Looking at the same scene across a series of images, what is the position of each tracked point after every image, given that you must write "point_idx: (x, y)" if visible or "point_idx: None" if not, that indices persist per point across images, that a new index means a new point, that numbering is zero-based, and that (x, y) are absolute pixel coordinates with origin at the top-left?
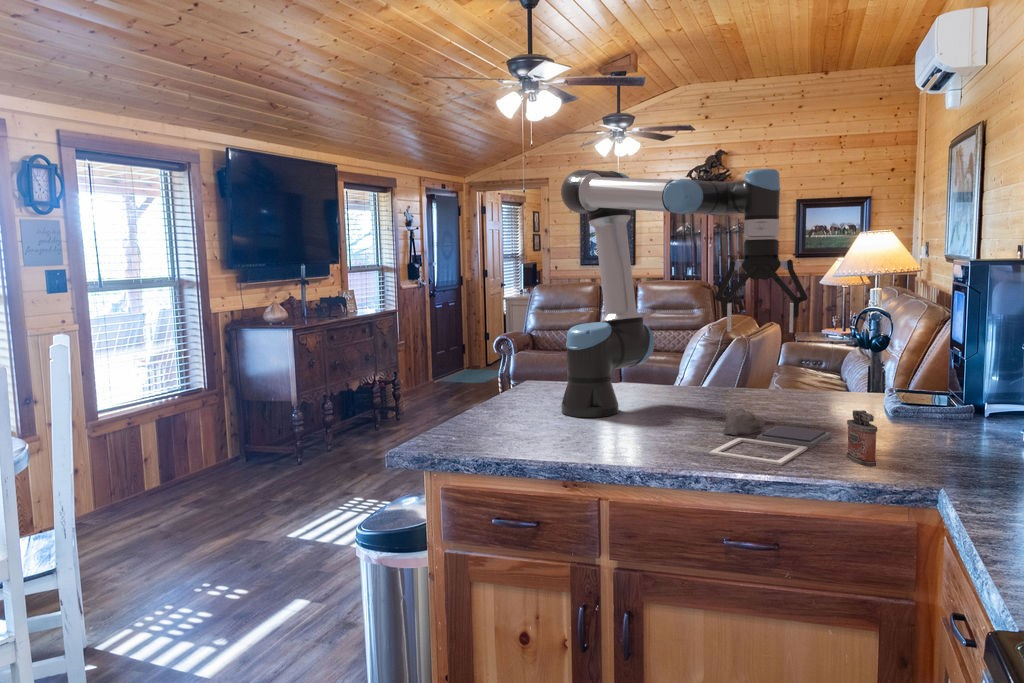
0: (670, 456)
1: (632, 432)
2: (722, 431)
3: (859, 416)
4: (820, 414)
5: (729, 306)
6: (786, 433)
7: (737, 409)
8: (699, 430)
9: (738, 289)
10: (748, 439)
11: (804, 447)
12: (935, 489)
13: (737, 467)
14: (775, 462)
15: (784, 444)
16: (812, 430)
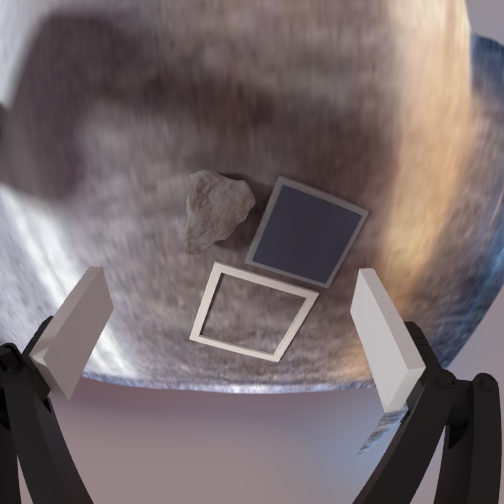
0: (151, 349)
1: (60, 248)
2: (182, 230)
3: None
4: (367, 13)
5: (69, 388)
6: (293, 249)
7: (199, 231)
8: (140, 209)
9: (78, 473)
10: (231, 271)
11: (314, 297)
12: None
13: (231, 372)
14: (271, 360)
15: (287, 288)
16: (340, 217)
